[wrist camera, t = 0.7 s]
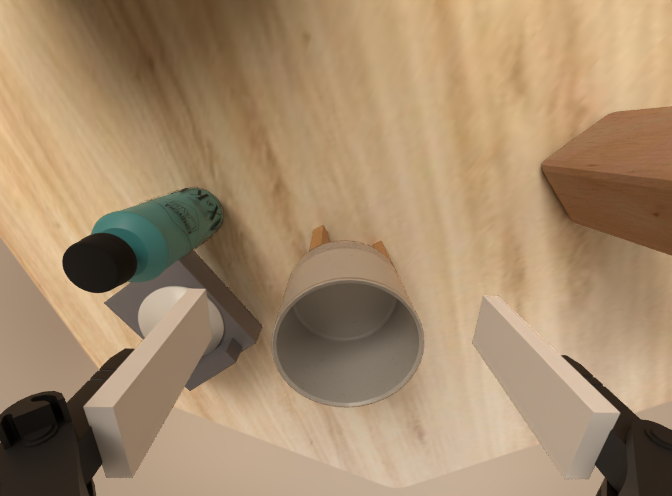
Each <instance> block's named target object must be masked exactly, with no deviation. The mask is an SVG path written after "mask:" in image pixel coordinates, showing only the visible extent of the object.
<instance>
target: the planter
mask: <svg viewBox="0 0 672 496" xmlns="http://www.w3.org/2000/svg"><path fill="white" fill-rule="evenodd" d="M271 344H272V354H273V358H274V362H275V365H276V367H277V369H278V371H279V373H280V374H281V376H282V377H283V379H284V380H285V381H286V382H287V383H288V384H289V386H290V387H292V388H293V389H294V390H295V391H297V392H298V393H299V394H301V395H303V396H304V397H306V398H308V399H310V400H312V401H315V402H317V403H321V404H324V405H329V406H334V407H358V406H364V405H369V404H372V403H375V402H378V401H380V400H383V399H385V398H387V397H389V396H390V395H392V394H394V393H395V392H397V391H398V390H399V389H401V388H402V387H403V386H404V385H405V384H406V383H407V382H408V381H409V380H410V379H411V377H412V376H413V374H414V373H415V372H416V370H417V368H418V366H419V364H420V361H421V358H422V355H423V349H424V333H423V329H422V324H421V322H420V320H419V318H418V315H417V313H416V311H415V309H414V307H413V305H412V303H411V301H410V299H409V297H408V295H407V293H406V291H405V289H404V286H403V284H402V282H401V280H400V278H399V276H398V274H397V271H396V269H395V267H394V265H393V263H392V261H391V259H390V257H389V255H388V253H387V251H386V249H385V247H384V245H383V243H382V242H381V241H379V242H377V243H376V244H374V245H373V247H371V246H369V245H366V244H363V243H359V242H355V241H334V242H329V238H328V233H327V231H326V229H325V228H324V226H321V227H319V228H317V229H315V230H314V231H313V235H312V240H311V245H310V250H309V252H308V253H307V254H306V255H304V256H303V257H302V258H301V259H300V260H299V261H298V263H297V264H296V266H295V267H294V269H293V271H292V273H291V275H290V278H289V281H288V284H287V288H286V291H285V294H284V297H283V301H282V304H281V307H280V311H279V314H278V317H277V320H276V324H275V327H274V330H273V334H272V343H271Z"/></svg>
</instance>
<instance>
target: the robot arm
mask: <svg viewBox="0 0 672 496" xmlns="http://www.w3.org/2000/svg"><path fill="white" fill-rule="evenodd" d="M211 339H212V334H211V326H210V317H209V309H208V301H207V293H206V289H190V288H189V289H188V291H187V292H186V293H185V294H184V295H183V296H182V297H181V298H180V299H179V301H178V302H177V303H176V304H175V305H174V306H173V307H172V308H171V310H170V311H169V312H168V313H167V314H166V315H165V316H164V317H163V318H162V320H161V321H160V322H159V323H158V324H157V325H156V326H155V327H154V328H153V330H152V331H151V332H150V333H149V334H148V335H147V336H146V337H145V339H144V340H143V341H142V342H141V343H140V344H139V345H138V346H137V347H136V349H124V350H122V351H121V352H119V353H117V354H116V355H114V356H113V357H111V358H110V359H109V360H108V361H107V362H106V363H105V364H104V365H103V366H102V367H101V368H100V370H99V371H97V372H96V373H95V374H94V375H93V376H92V377H91V379H90V381H87V382H86V384H85V385H84V386H83V387H82V388H81V389H80V390H79V391H78V392H77V393H76V394H75V395H74V396H73V397H72V398H71V399H70V400H69V401H68V402H67V403H66V401H65V398H64V397H63V395H62V393H59V392H56V391H48V392H41V393H38V394H34V395H31V396H29V397H26V398H24V399H22V400H20V401H18V402H16V403H15V404H13V405H11V406H10V407H8V408H7V409H6V410H5V411H3V413H2V414H0V441H1V443H0V496H96V491H95V485H94V482H93V479H92V478H93V476H94V475H95V473H96V472H97V470H98V469H99V467H100V466H101V464H102V466H103V469H104V472H105V475H106V477H107V478H133V476H134V475H135V473H136V471H137V469H138V467H139V466H140V464H141V462H142V460H143V459H144V457H145V455H146V453H147V452H148V450H149V448H150V446H151V445H152V443H153V441H154V439H155V437H156V436H157V434H158V432H159V431H160V429H161V427H162V425H163V424H164V422H165V420H166V418H167V417H168V415H169V413H170V411H171V410H172V408H173V406H174V404H175V402H176V401H177V399H178V397H179V395H180V394H181V392H182V390H183V388H184V387H185V385H186V383H187V381H188V380H189V378H190V376H191V374H192V373H193V371H194V369H195V367H196V366H197V364H198V362H199V360H200V359H201V357H202V355H203V353H204V352H205V350H206V348H207V346H208V345H209V343H210V341H211ZM472 344H473V345H474V347H475V348H476V350H477V351H478V353H479V354H480V355H481V357H482V358H483V360H484V361H485V363H486V364H487V366H488V367H489V369H490V370H491V372H492V373H493V375H494V376H495V378H496V379H497V380H498V382H499V383H500V385H501V386H502V388H503V389H504V391H505V392H506V394H507V395H508V397H509V398H510V400H511V401H512V403H513V404H514V405H515V407H516V408H517V410H518V411H519V413H520V414H521V416H522V417H523V419H524V420H525V422H526V423H527V425H528V426H529V428H530V429H531V431H532V432H533V433H534V435H535V436H536V438H537V439H538V441H539V442H540V444H541V445H542V447H543V448H544V449H545V451H546V453H547V454H548V456H549V457H550V458H551V460H552V461H553V463H554V464H555V466H556V467H557V469H558V470H559V472H560V473H561V475H562V476H563V477H564V479H589V478H590V476H591V473H592V471H593V469H594V467H595V465H596V467H597V468H598V469H599V470H600V472H601V473H602V474H603V475H604V476H605V479H604V480H603V483H602V484H601V486H600V489H599V490H598V492H597V494H596V496H672V430H670V429H668V428H666V427H664V426H662V425H660V424H658V423H655V422H652V421H649V420H641V419H640V418H639V417H637V416H636V415H635V414H634V413H633V412H632V411H631V410H630V409H629V408H628V407H627V406H626V405H624V404H623V403H622V402H621V401H620V400H619V399H618V398H617V397H616V396H615V395H614V394H612V393H611V392H610V391H609V390H608V389H607V388H606V387H603V384H602V383H601V382H599V381H598V380H597V379H596V378H593V375H592V374H591V373H590V372H589V371H587V370H586V369H585V368H584V367H583V366H582V365H581V364H579V363H578V362H576V361H574V360H573V359H571V358H569V357H568V356H566V355H560V354H559V353H558V352H557V351H556V350H555V349H554V348H553V347H551V346H550V345H549V344H548V343H547V342H546V341H545V340H544V339H543V338H542V337H541V336H540V335H539V334H538V333H537V332H536V331H535V330H534V329H533V328H532V327H531V326H530V325H529V324H528V323H526V322H525V321H524V320H523V319H522V318H521V317H520V316H519V315H518V314H517V313H516V312H515V311H514V310H513V309H512V308H511V307H510V306H509V305H508V304H507V303H506V302H505V301H504V300H503V299H502V298H500V297H499V296H487V295H483V298H482V302H481V306H480V311H479V315H478V320H477V324H476V328H475V333H474V337H473V341H472Z"/></svg>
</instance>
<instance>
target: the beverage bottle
mask: <svg viewBox="0 0 672 496" xmlns="http://www.w3.org/2000/svg"><path fill="white" fill-rule="evenodd" d="M178 191H179V192H175V193H171V192H170V193H171V194H169V195H166V196H163V197H160V198H156V199H154V198H155V197H154V198H153V199H150V201H147V202H144V203H142V204H139V205H136V206H133V207H130V208H127V209H124V210H121V211H116V212H112V213H109V214H107V215H105V216H103V217H102V218H100V219H99V220H98V221H97V223H96V224H95V226H94V227H93V230H92V233H91V235H90V236H87V237H85V238H83V239H82V240H81V241H79V242H77V243H75V244H73V245H71V246H70V247H69V248H68V249H67V250H66V252H65V253H64V256H63V262H62V263H63V269H64V272H65V274H66V275H67V277H68V278H69V279H70V281H71V282H72V283H73V284H75V285H76V286H77V287H79V288H81V289H83V290H85V291H88V292H92V293H103V292H107V291H110V290H112V289H114V288H115V287H117V286H120V285H122V284H124V283H126V282H133V283H140V282H147V281H150V280H153V279H155V278H156V277H158V276H159V275H160V274H161V273H162V272H163V271H164V270H166V269H167V268H168V267H170V266H171V265H172V264H174V263H175V262H176V261H178V260H179V259H180V258H183V257H184V256H185V255H187V254H188V253H189V252H190V251H193V249H194V248H195V247H199V246H198V245H202V244H201V243H203V241H204V242H206V241H207V240H206V239H208V237H210V236H211V235H212V234H214V233H215V232H216V233H217V230H218V229H219V227H220V226H222V225H221V223H223V222H222V219H223V210H222V207H221V204H220V203H219V201H218V200H217V198H216V197H215V196H214V195H213V194H211V193H210V192H208V191H207V190H205V189H204V190H203V189H202V188H201V189H199V188H198V187H197V188H193V187H188V188H185V189H183V190H181V191H180V190H178ZM167 194H168V193H167ZM157 197H159V196H157ZM142 202H143V201H142ZM216 233H215V234H216ZM210 238H211V237H210ZM205 240H206V241H205ZM190 253H191V252H190Z"/></svg>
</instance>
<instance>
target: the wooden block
mask: <svg viewBox="0 0 672 496" xmlns="http://www.w3.org/2000/svg"><path fill="white" fill-rule="evenodd" d="M541 166H542V170H543V172H544V174H545V175H546V177H547V179H548V181H549V182H550V184H551V186H552V188H553V189H554V191H555V193H556V195H557V196H558V198H559V200H560V202H561V203H562V205H563V207H564V208H565V210H566V212H567V214H568V215H569V217H570V219H571V220H572V221H574V222H576V223H578V224H581V225H584V226H587V227H590V228H593V229H596V230H599V231H602V232H605V233H608V234H610V235H613V236H616V237H619V238H622V239H625V240H628V241H631V242H634V243H637V244H640V245H643V246H646V247H648V248H651V249H654V250H657V251H660V252H663V253H666V254H669V255H672V107H661V108H651V109H640V110H630V111H619V112H614V113H611V114H609V115H607V116H605V117H604V118H603V119H601V120H600V121H599V122H597V123H596V124H594V125H593V126H592V127H590V128H589V129H587V130H586V131H585V132H583V133H582V134H581V135H579V136H578V137H576V138H575V139H574V140H572V141H571V142H570V143H568V144H567V145H565V146H564V147H563V148H561V149H560V150H558V151H557V152H556V153H554V154H553V155H552V156H550V157H549V158H547V159H546V160H545V161H544V162H543V163H542V164H541Z"/></svg>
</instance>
